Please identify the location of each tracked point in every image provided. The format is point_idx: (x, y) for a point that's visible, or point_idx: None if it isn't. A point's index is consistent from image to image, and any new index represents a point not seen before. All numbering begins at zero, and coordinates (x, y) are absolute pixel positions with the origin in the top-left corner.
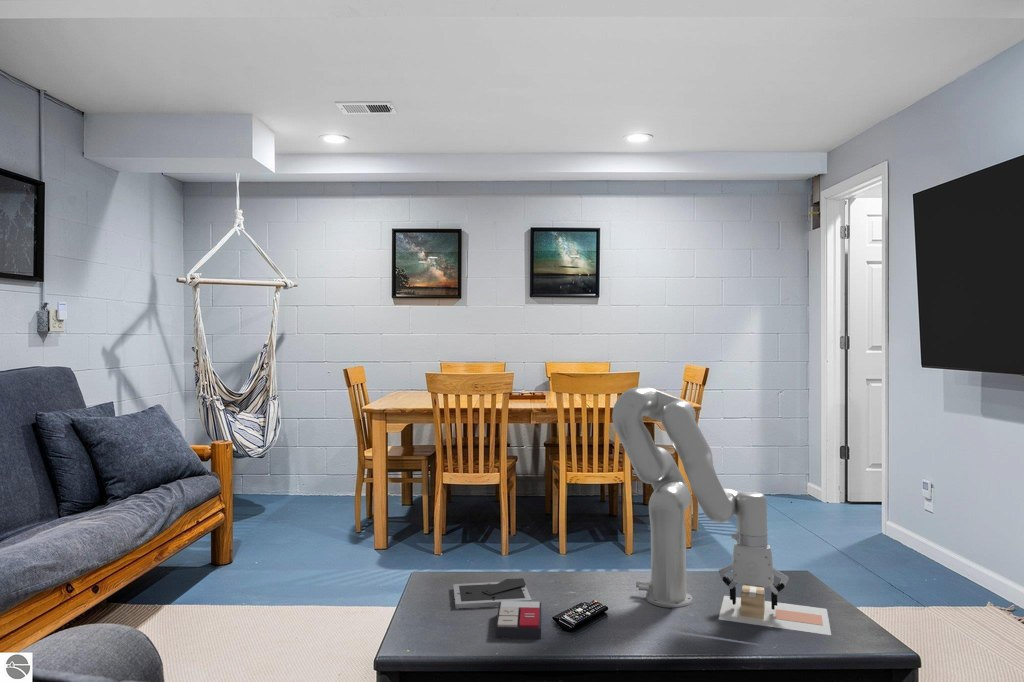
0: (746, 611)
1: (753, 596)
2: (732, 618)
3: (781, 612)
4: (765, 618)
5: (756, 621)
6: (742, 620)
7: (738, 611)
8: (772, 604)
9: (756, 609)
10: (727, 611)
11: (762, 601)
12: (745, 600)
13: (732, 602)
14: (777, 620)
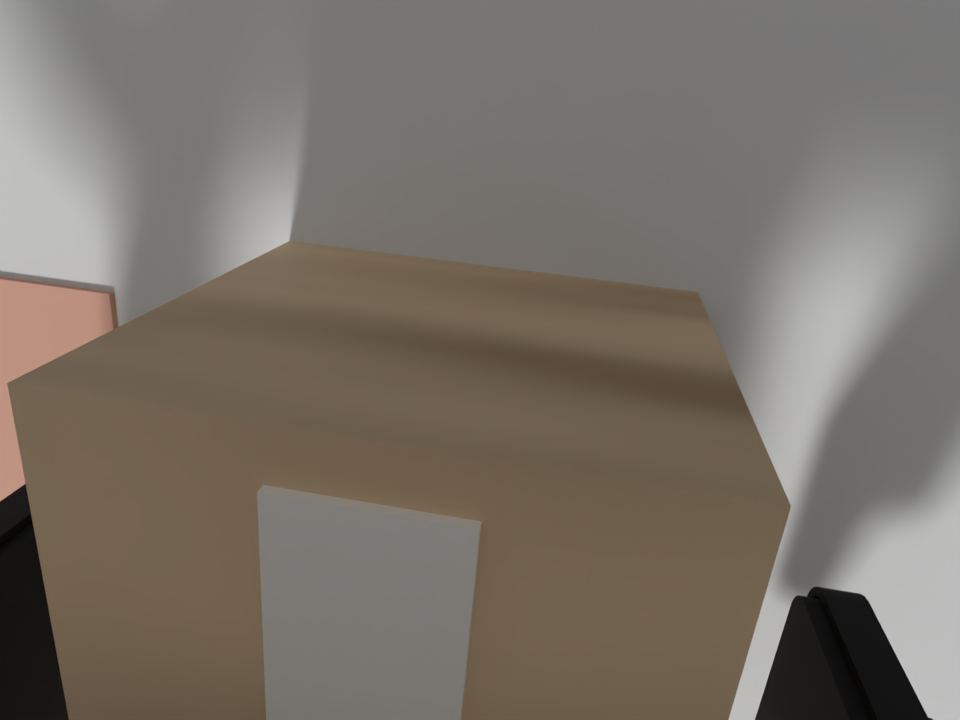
0: (591, 306)
1: (323, 526)
2: (925, 76)
3: None
4: None
5: (417, 62)
6: (706, 18)
7: None
8: (28, 515)
9: (361, 300)
10: (941, 450)
11: (97, 355)
12: (610, 418)
13: (875, 615)
14: (77, 233)
